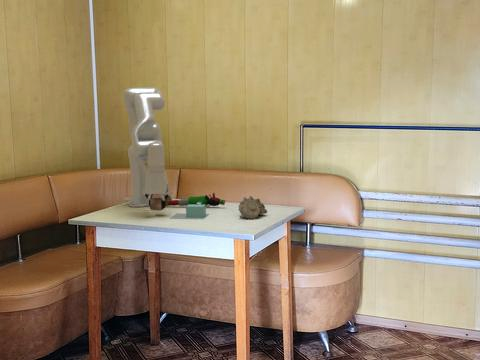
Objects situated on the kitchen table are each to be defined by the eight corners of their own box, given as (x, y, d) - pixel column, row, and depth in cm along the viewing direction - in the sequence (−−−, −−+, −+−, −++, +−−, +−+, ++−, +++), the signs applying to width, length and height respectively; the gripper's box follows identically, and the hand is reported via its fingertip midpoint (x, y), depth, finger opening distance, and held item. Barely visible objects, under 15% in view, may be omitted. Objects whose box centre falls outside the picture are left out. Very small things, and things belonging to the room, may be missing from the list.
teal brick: (186, 217, 272) (185, 206, 272) (189, 215, 277) (188, 204, 277) (203, 217, 271) (203, 206, 270) (205, 215, 276) (205, 204, 275)
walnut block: (150, 210, 276) (150, 199, 275) (154, 207, 281) (153, 197, 280) (161, 210, 275) (160, 199, 274) (164, 208, 280) (164, 197, 279)
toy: (176, 189, 318) (231, 187, 312) (177, 204, 319) (232, 202, 313) (155, 199, 286) (216, 197, 280) (156, 216, 287) (217, 214, 281)
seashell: (234, 221, 271) (233, 200, 269) (248, 212, 284) (247, 192, 281) (257, 224, 266) (256, 202, 264) (270, 214, 279) (269, 193, 277)
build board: (169, 220, 270) (169, 218, 270) (176, 215, 282) (176, 213, 282) (203, 220, 267) (203, 219, 267) (209, 215, 279) (209, 213, 279)
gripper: (135, 170, 273) (137, 209, 276) (171, 171, 270) (172, 210, 273) (141, 167, 280) (142, 205, 283) (176, 168, 277) (177, 207, 280)
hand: (157, 207), depth 278 cm, fingers closed on walnut block, 5 cm apart
